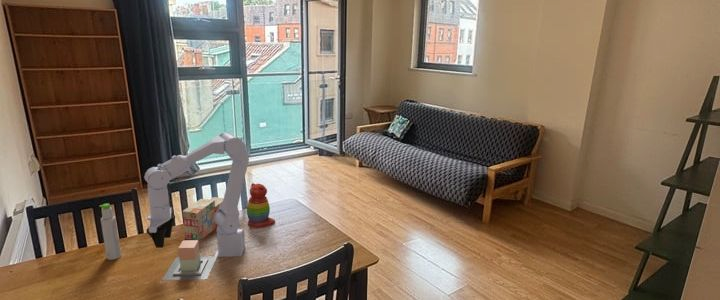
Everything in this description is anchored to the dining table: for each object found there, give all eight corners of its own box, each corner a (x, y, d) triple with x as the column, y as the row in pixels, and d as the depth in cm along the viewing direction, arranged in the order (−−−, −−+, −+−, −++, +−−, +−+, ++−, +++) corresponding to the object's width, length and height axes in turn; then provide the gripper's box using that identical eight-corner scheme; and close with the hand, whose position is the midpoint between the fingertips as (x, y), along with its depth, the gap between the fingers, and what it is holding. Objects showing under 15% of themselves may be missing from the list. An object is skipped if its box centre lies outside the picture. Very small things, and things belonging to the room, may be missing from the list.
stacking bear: (277, 223, 172) (276, 184, 167) (258, 231, 165) (256, 190, 160) (260, 215, 179) (259, 177, 174) (241, 223, 171) (239, 184, 166)
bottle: (109, 254, 145) (101, 202, 139) (122, 252, 146) (115, 201, 140) (104, 260, 140) (96, 207, 135) (118, 259, 142) (111, 206, 136)
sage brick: (200, 263, 140) (199, 251, 139) (196, 271, 135) (195, 259, 134) (185, 263, 139) (184, 252, 138) (180, 272, 135) (179, 260, 133)
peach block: (199, 251, 139) (198, 240, 137) (195, 259, 134) (194, 247, 133) (184, 252, 138) (183, 240, 137) (179, 260, 133) (178, 248, 132)
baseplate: (217, 257, 145) (217, 254, 144) (206, 280, 131) (206, 277, 131) (176, 258, 143) (176, 255, 143) (161, 281, 130) (161, 278, 130)
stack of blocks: (215, 216, 177) (213, 190, 173) (228, 218, 175) (226, 191, 172) (184, 239, 157) (182, 210, 153) (199, 241, 155) (197, 212, 152)
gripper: (155, 195, 136) (159, 231, 140) (136, 214, 123) (141, 253, 126) (176, 195, 137) (180, 231, 141) (160, 213, 123) (165, 253, 127)
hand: (163, 242), depth 134 cm, fingers open, 6 cm apart
